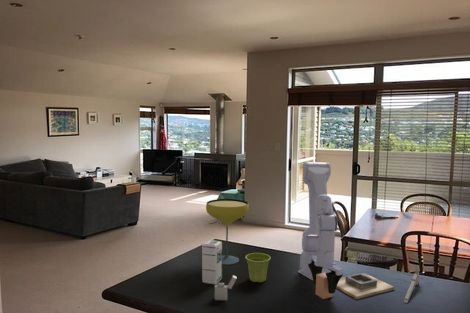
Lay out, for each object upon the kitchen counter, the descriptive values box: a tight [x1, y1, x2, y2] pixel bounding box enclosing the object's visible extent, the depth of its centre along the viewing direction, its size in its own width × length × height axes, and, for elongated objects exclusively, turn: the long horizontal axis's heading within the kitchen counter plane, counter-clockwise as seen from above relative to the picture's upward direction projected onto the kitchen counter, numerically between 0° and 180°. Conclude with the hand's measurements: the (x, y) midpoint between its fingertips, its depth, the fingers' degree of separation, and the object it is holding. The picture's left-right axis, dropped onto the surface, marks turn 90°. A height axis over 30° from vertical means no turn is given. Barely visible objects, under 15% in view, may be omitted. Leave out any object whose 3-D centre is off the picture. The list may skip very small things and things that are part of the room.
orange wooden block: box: [315, 272, 334, 300], centre depth 125 cm, size 4×4×7 cm
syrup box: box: [201, 239, 223, 285], centre depth 135 cm, size 6×6×14 cm
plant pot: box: [245, 252, 272, 283], centre depth 137 cm, size 9×9×9 cm
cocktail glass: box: [205, 198, 250, 266], centre depth 156 cm, size 18×18×25 cm
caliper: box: [403, 267, 420, 304], centre depth 129 cm, size 20×1×6 cm, turn 144°
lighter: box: [214, 274, 237, 301], centre depth 121 cm, size 7×2×8 cm, turn 88°
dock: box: [336, 272, 395, 300], centre depth 133 cm, size 14×18×3 cm
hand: (324, 288), depth 125 cm, fingers open, 7 cm apart
